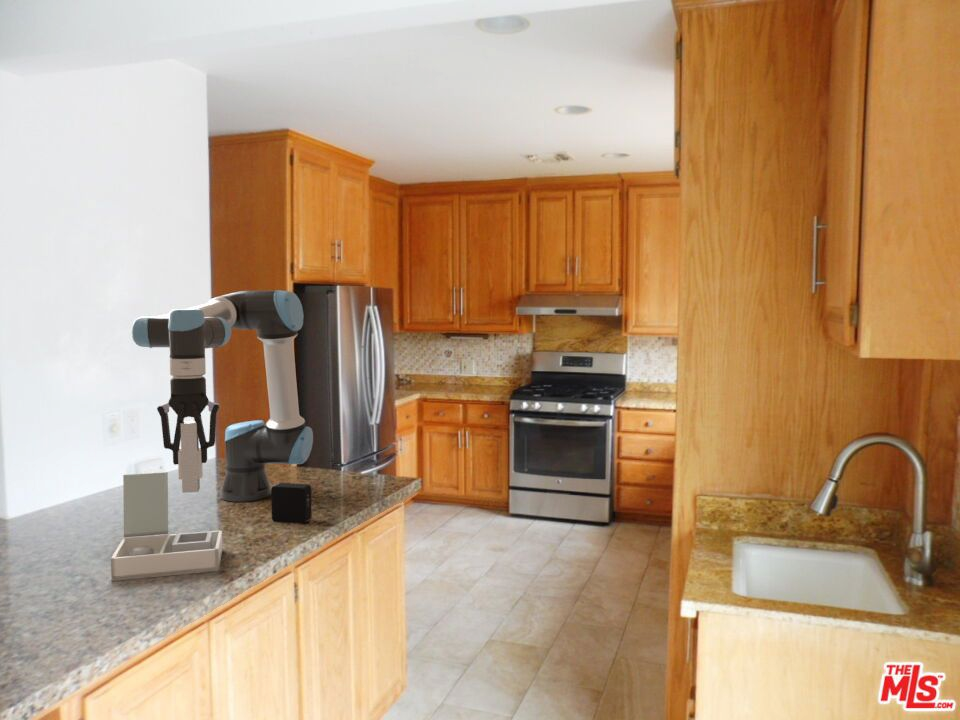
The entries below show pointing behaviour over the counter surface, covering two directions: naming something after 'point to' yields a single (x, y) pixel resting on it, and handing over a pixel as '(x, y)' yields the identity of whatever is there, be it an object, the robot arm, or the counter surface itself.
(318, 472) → the counter surface
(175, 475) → the counter surface
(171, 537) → the housing
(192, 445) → the rectangular gray bar
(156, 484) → the lid
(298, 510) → the electronic device
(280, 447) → the robot arm
